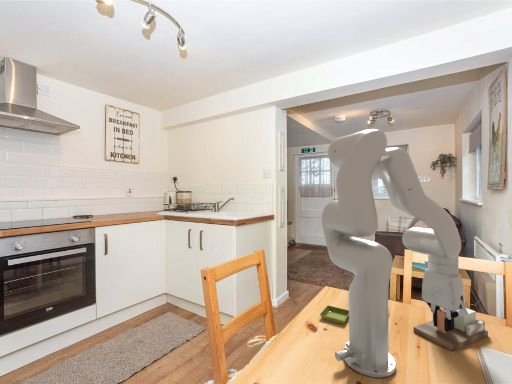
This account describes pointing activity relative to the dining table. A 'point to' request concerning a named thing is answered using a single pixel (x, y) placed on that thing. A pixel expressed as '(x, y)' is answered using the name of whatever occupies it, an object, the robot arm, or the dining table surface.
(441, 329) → the joined block piece
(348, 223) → the robot arm
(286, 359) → the dining table surface
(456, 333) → the shelf
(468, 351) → the dining table surface
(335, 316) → the green tray
